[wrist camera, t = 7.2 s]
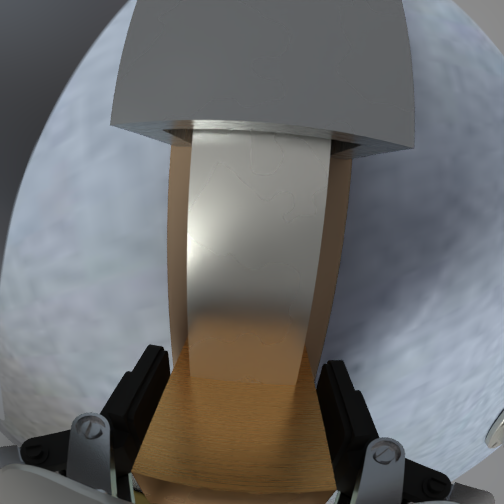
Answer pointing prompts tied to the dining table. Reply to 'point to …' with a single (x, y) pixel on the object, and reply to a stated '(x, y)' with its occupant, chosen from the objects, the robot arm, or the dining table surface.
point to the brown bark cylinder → (140, 498)
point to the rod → (245, 330)
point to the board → (326, 264)
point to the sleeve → (269, 72)
